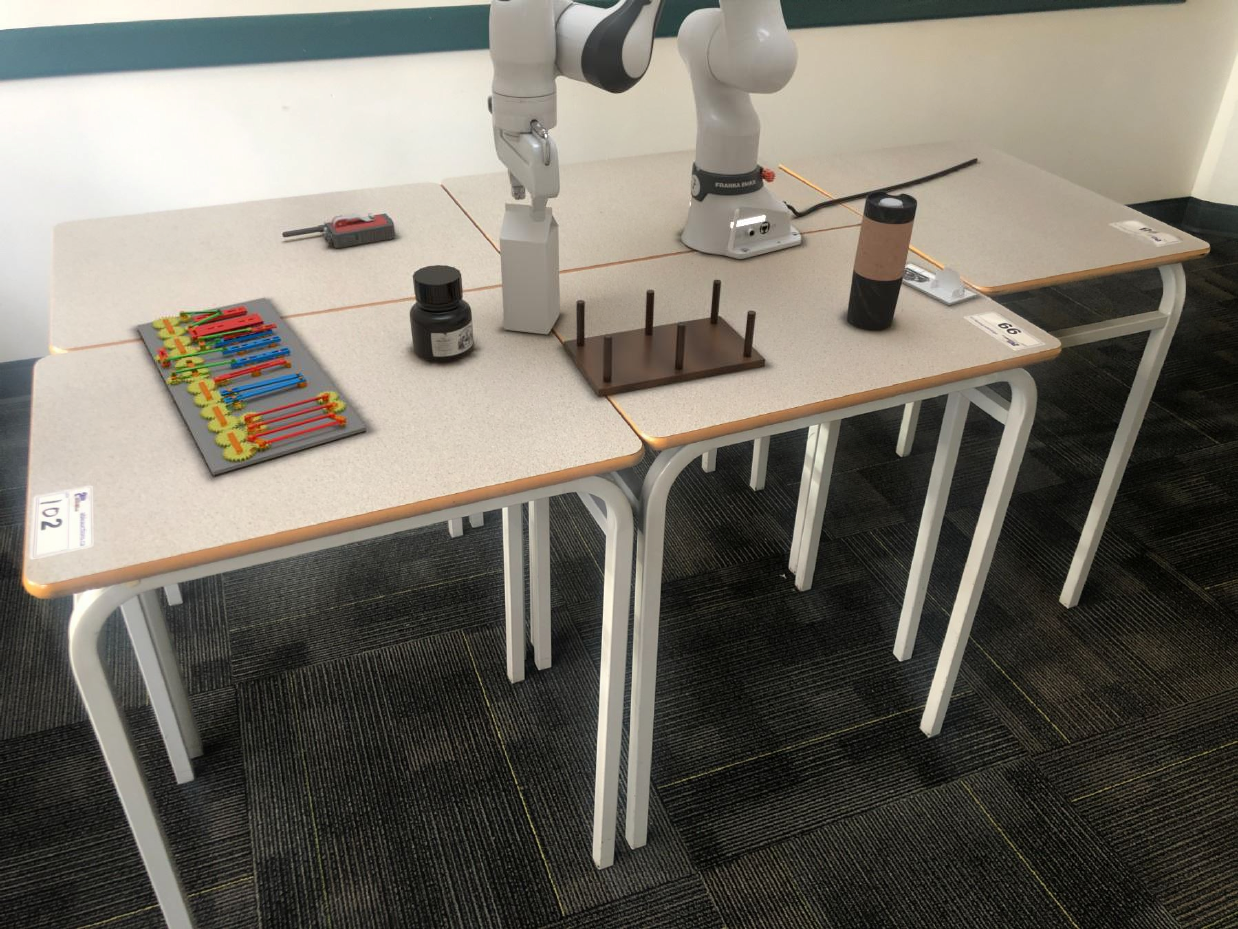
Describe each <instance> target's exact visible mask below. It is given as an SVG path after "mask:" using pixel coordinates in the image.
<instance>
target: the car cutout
mask: <svg viewBox="0 0 1238 929" xmlns="http://www.w3.org/2000/svg"><path fill="white" fill-rule="evenodd" d="M902 284H905V285H907V286H909V287H910V288H913V289H915V290H917V291H919V292H921V293H923V294H925V295H927V296H929V297H931V298H933V299H934V300H937V301H938V302H941V303H942V304H945V305H947V306H952V305H956V304H958V303H961V302H964V301H968V300H972V299H973V298H977V296H978V294H977V293H976V292H973V291H971V290H970V289H969V290H968V289H966V288H965V282H964V280H963V279H961V278H960V273H959V271H957V270H956V269H954V268H952V267H948V266H945V267H944V268H943V269H938V270H936V272H935V273H933V272H930V271H928V270H926V269H924V268H922V267H920V266H918V265H916V264H913V263H911V262H910V263H906V265H905V271H904V275H903V280H902Z"/></svg>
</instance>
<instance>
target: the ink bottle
mask: <svg viewBox="0 0 1238 929" xmlns="http://www.w3.org/2000/svg"><path fill="white" fill-rule="evenodd" d="M462 278H463V277H462V273H461V271H460V269H458V268H457V267H455V266H450V265H447V264H445V265H444V264H443V265H442V264H436V265H435V264H434V265H428V266H424V267H421V268H419V269H417V270H416V271H414V272H413V274H412V283H413V291H414V299H415V303H414V304H413V305H412V306H411V308H410V309H409V323H410V332H411V339H412V340H411V341H412V348H413V351H414V353H415V355H417V357H419V358H421V359H423V360H426V361H430V362H436V363H449V362H453V361H457V360H460V359H462V358H464V357H466V356H468V355H469V354H470V353H472V352H473V350H474V346H475V340H474V339H475V338H474V326H473V314H472V307H471V305H470V304H469V303H468V302H467V301H466V300H465V299H463V297H464V296H463V295H464V294H463V292H464V291H463V281H462Z"/></svg>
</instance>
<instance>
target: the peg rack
mask: <svg viewBox="0 0 1238 929" xmlns="http://www.w3.org/2000/svg"><path fill="white" fill-rule="evenodd" d="M721 290H722V280H721V279H714V280H713V281H712V291H711V305H710V317H703V318H697V319H691V320H685V321H678V322H673V323H666V324H659V325H655V326H654V317H655V316H654V315H655V314H654V312H655V290H653V289H647V290H646V293H645V316H644V317H645V318H644V319H645V320H644V327H642V328H636V329H630V330H624V331H619V332H612V333H605V334H600V335H593V336H588V337H587V336H585V335H586V328H585V327H586V325H585V324H586V314H585V313H586V306H585V305H586V304H585V303H586V301H585V300H583V299H578V300H576V302H575V303H576V304H575V309H576V310H575V311H576V312H575V313H576V315H575V316H576V321H575V322H576V338H574V339H569V340H563V349H564V351H565V352H566V353H567V354H568V356H569V357H570V358H571V360H572V362H573V363H574V364H575V365H576V367H577V368H578V370H579V371H580V372H581V374H582V375H583V377H584V379H586V381H587V383H588V384H589V386H590V387H591V388H592V390H593V391H594V393H595V394H596V395H597V396H598V397H604V396H610V395H615V394H621V393H627V392H631V391H637V390H643V389H648V388H653V387H659V386H664V385H670V384H675V383H681V382H686V381H690V380H691V381H692V380H696V379H701V378H708V377H712V376H713V377H714V376H718V375H723V374H729V373H734V372H740V371H745V370H752V369H756V368H757V369H758V368H762V367H765V364H766V358H765V357H764V356H762V354H761V353H759V352H758V351H757V350H756V349H755V348H754V347H753V344H754V333H755V326H756V316H757V312H756V311H755V310H751V309H750V310H748V311H747V313H746V314H747V315H746V324H745V333H744V337H743V336H742V335H741V334H740V333H739V332H738V331H736V329H734V328H733V326H732V325H730V323H729V322H727V321H726V320H725V319H724V318H723V317H722V316H721V315H719V314H720V313H719V311H720V300H721Z"/></svg>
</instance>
